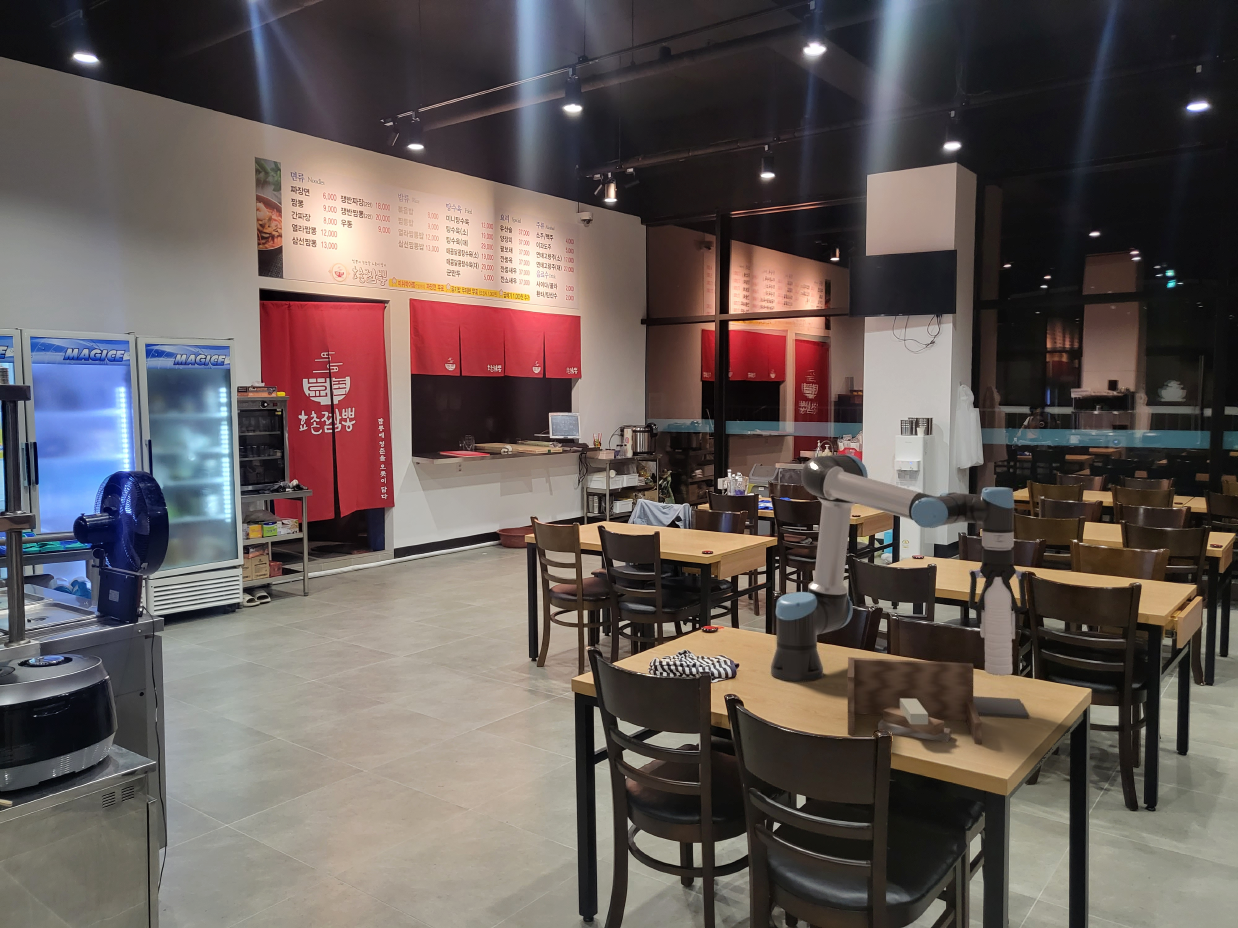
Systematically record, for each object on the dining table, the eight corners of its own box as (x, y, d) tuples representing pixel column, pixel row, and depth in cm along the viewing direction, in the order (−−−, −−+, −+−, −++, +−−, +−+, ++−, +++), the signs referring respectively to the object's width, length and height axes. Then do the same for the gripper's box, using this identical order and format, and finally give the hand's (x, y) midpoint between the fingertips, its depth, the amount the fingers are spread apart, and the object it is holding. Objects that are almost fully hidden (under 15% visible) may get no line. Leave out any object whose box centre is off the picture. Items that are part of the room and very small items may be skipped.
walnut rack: (847, 734, 215) (847, 676, 214) (848, 710, 232) (848, 657, 231) (981, 743, 207) (981, 684, 206) (972, 718, 224) (972, 663, 223)
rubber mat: (972, 714, 227) (972, 711, 227) (966, 698, 239) (966, 695, 239) (1028, 718, 224) (1028, 715, 223) (1019, 701, 236) (1019, 698, 236)
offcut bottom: (878, 733, 217) (878, 723, 216) (882, 728, 220) (882, 718, 220) (947, 744, 209) (948, 734, 209) (950, 739, 212) (950, 728, 212)
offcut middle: (882, 720, 219) (882, 710, 219) (892, 716, 221) (892, 706, 221) (934, 735, 208) (934, 725, 208) (943, 731, 210) (944, 721, 210)
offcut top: (899, 708, 220) (899, 698, 219) (916, 708, 219) (916, 698, 219) (910, 723, 209) (910, 713, 209) (928, 724, 208) (928, 713, 208)
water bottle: (1017, 672, 229) (1016, 575, 228) (1001, 677, 226) (1000, 579, 224) (988, 665, 236) (987, 571, 235) (972, 669, 233) (970, 574, 232)
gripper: (958, 549, 228) (958, 638, 229) (1041, 550, 223) (1041, 642, 224) (955, 545, 235) (955, 631, 236) (1036, 546, 230) (1035, 635, 231)
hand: (997, 636), depth 230 cm, fingers closed on water bottle, 6 cm apart
